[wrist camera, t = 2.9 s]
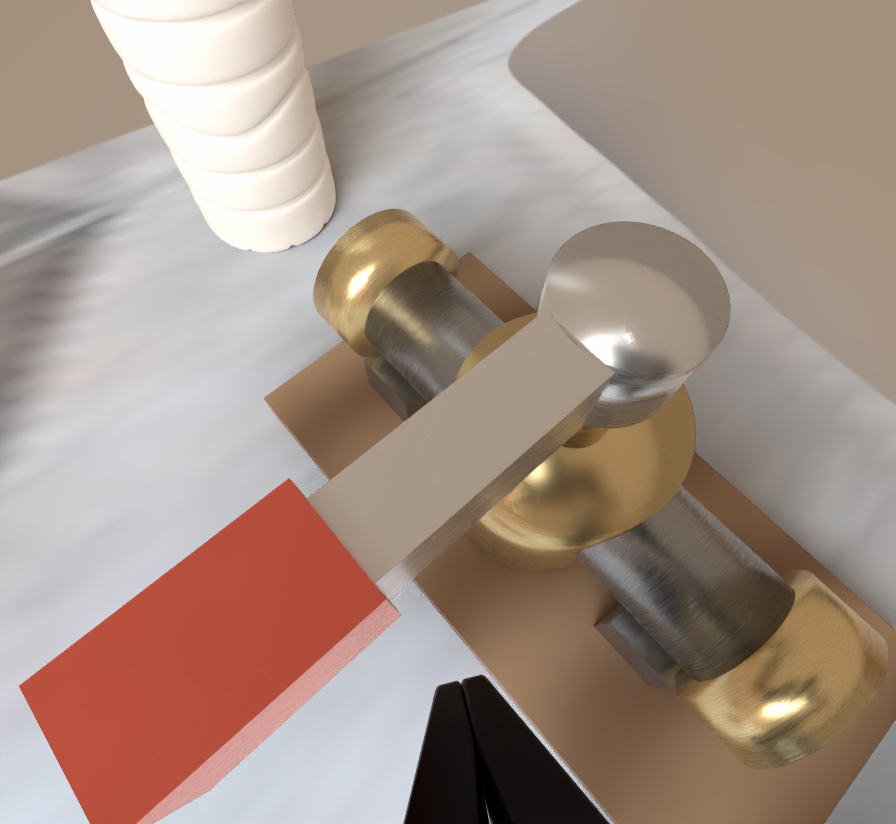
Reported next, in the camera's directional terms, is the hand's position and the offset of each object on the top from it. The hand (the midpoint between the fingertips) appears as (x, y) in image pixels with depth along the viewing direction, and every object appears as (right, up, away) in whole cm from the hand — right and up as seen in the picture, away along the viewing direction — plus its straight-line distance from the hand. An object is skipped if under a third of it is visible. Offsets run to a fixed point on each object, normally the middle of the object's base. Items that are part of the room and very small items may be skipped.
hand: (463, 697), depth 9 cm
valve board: (+4, 0, +12) cm, 13 cm away
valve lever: (0, +3, +2) cm, 3 cm away
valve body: (+3, +2, +11) cm, 12 cm away
